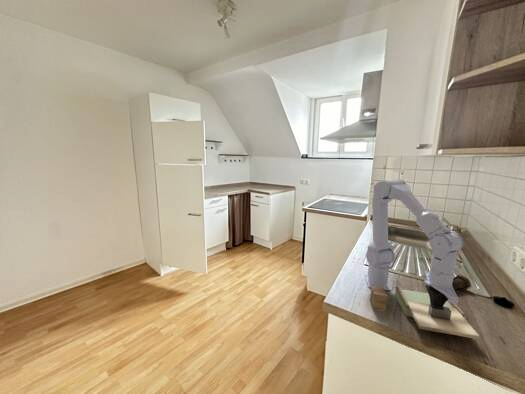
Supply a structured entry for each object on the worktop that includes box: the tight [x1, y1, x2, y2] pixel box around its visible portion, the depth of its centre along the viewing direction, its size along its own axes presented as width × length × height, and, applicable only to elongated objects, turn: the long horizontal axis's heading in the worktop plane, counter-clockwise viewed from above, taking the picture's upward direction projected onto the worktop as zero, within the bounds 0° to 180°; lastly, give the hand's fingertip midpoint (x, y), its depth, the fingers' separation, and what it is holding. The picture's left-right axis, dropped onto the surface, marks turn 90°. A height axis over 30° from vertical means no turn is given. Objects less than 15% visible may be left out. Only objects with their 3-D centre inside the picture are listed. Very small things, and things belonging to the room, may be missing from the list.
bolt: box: [452, 274, 472, 291], centre depth 88 cm, size 6×5×15 cm
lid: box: [407, 301, 480, 340], centre depth 69 cm, size 12×14×4 cm
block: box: [369, 286, 388, 312], centre depth 79 cm, size 5×4×6 cm
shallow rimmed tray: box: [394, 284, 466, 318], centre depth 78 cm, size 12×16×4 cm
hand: (435, 309), depth 71 cm, fingers closed
